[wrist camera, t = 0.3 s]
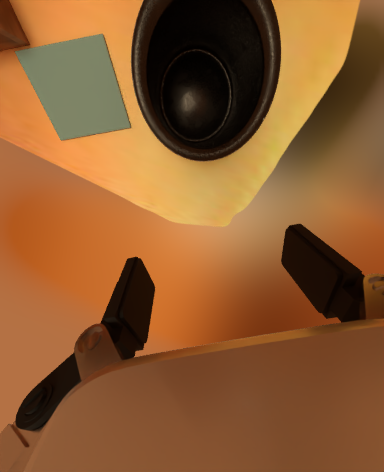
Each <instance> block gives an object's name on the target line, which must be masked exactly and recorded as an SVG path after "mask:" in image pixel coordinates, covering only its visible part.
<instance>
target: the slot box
mask: <svg viewBox="0 0 384 472" xmlns="http://www.w3.org/2000/svg"><path fill="white" fill-rule="evenodd" d="M26 45H30V44H29V42H28V40H27V38H26V36H25V34H24V32H23V29H22V27H21V25H20V23H19V21H18V19H17V17H16V15H15V13H14V11H13V8H12V6H11V4H10V2H9V0H0V51H1V50H6V49H11V48H16V47H21V46H26Z"/></svg>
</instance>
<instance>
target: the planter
mask: <svg viewBox="0 0 384 472" xmlns="http://www.w3.org/2000/svg"><path fill="white" fill-rule="evenodd" d="M280 64H281V40H280V31H279V25H278V20H277V16H276V12H275V9H274V6H273V3H272V1H271V0H143V2H142V5H141V8H140V10H139V13H138V16H137V19H136V23H135V28H134V33H133V39H132V48H131V70H132V80H133V86H134V91H135V95H136V98H137V102H138V105H139V107H140V110H141V112H142V115H143V117H144V119H145V121H146V123H147V124H148V126H149V128H150V129H151V131H152V132H153V134H154V135H155V136H156V137H157V139H158V140H159V141H160V142H161V143H162V144H163V145H164V146H165V147H167V148H168V149H169V150H171V151H172V152H174V153H175V154H177V155H179V156H181V157H183V158H186V159H189V160H194V161H213V160H218V159H221V158H224V157H226V156H228V155H230V154H232V153H234V152H235V151H237V150H238V149H240V148H241V147H242V146H243V145H244V144H246V143H247V142H248V141H249V140H250V139H251V137H252V136H253V135H254V134H255V133H256V131H257V130H258V129H259V127H260V126H261V124H262V122H263V121H264V119H265V117H266V115H267V113H268V111H269V109H270V106H271V104H272V101H273V98H274V95H275V92H276V88H277V84H278V79H279V73H280Z"/></svg>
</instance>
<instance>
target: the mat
mask: <svg viewBox="0 0 384 472" xmlns="http://www.w3.org/2000/svg"><path fill="white" fill-rule="evenodd" d="M15 53H16V55H17V57H18V59H19V61H20V63H21V65H22V67H23V69H24V70H25V72H26V74H27V76H28V78H29V80H30V82H31V84H32V86H33V88H34V90H35V92H36V94H37V95H38V97H39V99H40V101H41V103H42V105H43V107H44V109H45V111H46V113H47V115H48V117H49V119H50V120H51V122H52V124H53V126H54V128H55V130H56V132H57V134H58V136H59V138H60V140H66V139H72V138H77V137H83V136H88V135H93V134H99V133H104V132H110V131H115V130H121V129H126V128H131V126H130V122H129V119H128V116H127V112H126V109H125V105H124V102H123V99H122V95H121V92H120V89H119V85H118V82H117V79H116V75H115V72H114V69H113V65H112V62H111V59H110V55H109V52H108V49H107V45H106V42H105V39H104V35H103V34H98V35H94V36H89V37H84V38H79V39H74V40H69V41H64V42H59V43H54V44H49V45H44V46H39V47H34V48H29V49H24V50H20V51H15Z"/></svg>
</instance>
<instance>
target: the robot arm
mask: <svg viewBox="0 0 384 472" xmlns="http://www.w3.org/2000/svg"><path fill="white" fill-rule="evenodd" d="M281 262H282V265H283V266H284V268H285V269H286V270H287V272H288V273H289V274H290V276H291V277H292V278H293V280H294V281H295V282H296V284H298V286H299V287H300V289H301V290H302V291H303V293H304V294H305V295H306V297H307V298H308V299H309V300H310V302H311V303H312V305H313V306H314V307H315V308H316V310H317V311H318V312H319V313H322V314H323V315H324V316H325V317H326V319H328V318H334V317H338V319H339V320H340V321H341V323H336V324H329V325H322V326H316V327H310V328H303V329H298V330H291V331H285V332H279V333H273V334H267V335H260V336H255V337H248V338H242V339H237V340H230V341H225V342H218V343H212V344H207V345H201V346H195V347H190V348H183V349H177V350H172V351H166V352H161V353H156V354H150V355H146V356H140V357H135V358H134V356H135V351H139V350H143V348H144V343H146V342H147V338H148V332H149V325H150V319H151V312H152V306H153V299H154V292H155V286H154V283H153V281H152V280H151V278H150V275H149V273H148V271H147V270H146V268H145V266H144V264H143V262H142V260H141V259H140V258H138V257H133V258H128V259H127V261H126V263H125V266H124V268H123V271H122V273H121V276H120V278H119V281H118V282H117V284H116V287H115V289H114V291H113V294H112V296H111V299H110V302H109V304H108V306H107V308H106V311H105V313H104V316H103V318H102V321H101V323H100V324H94V325H92V326H90V327H89V328H87V329H86V330H85V331H84V332H83V333H82V334H81V335H80V336H79V338H78V340H77V341H76V343H75V347H74V353H73V354H72V355H71V356H70V357H68V358H67V359H66V360H65V361H64V362H63V363H62V364H60V365H59V366H58V367H57V368H56V369H55V370H54V371H53V372H51V373H50V374H49V375H48V376H47V377H46V378H45V379H44V380H42V381H41V382H40V383H39V384H38V385H37V386H36V387H35V388H34V389H33V390H32V391H31V392H30V393H29V394H28V395H27V396H26V398H25V399H24V400H23V402H22V404H21V406H20V407H19V410H18V412H17V415H16V421H15V422H14V423H13V424H8V425H7V426H6V427H5V429H4V430H3V431H2V432H1V433H0V472H384V275H382V274H369V275H367V276H364V275H363V274H362V271H360V270H359V269H358V268H357V267H356V266H354V265H353V264H352V263H350V262H349V261H348V260H346V259H345V258H344V257H343V256H341V255H340V254H339V253H338V252H336V251H335V250H334V249H332V248H331V247H330V246H329V245H327V244H326V243H325V242H323V241H322V240H321V239H320V238H318V237H317V236H315V235H314V234H313V233H312V232H310V231H309V230H308V229H307V228H305V227H304V226H303V225H301V224H296V225H290V226H289V227H288V228H287V229H286V232H285V238H284V245H283V252H282V259H281Z"/></svg>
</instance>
